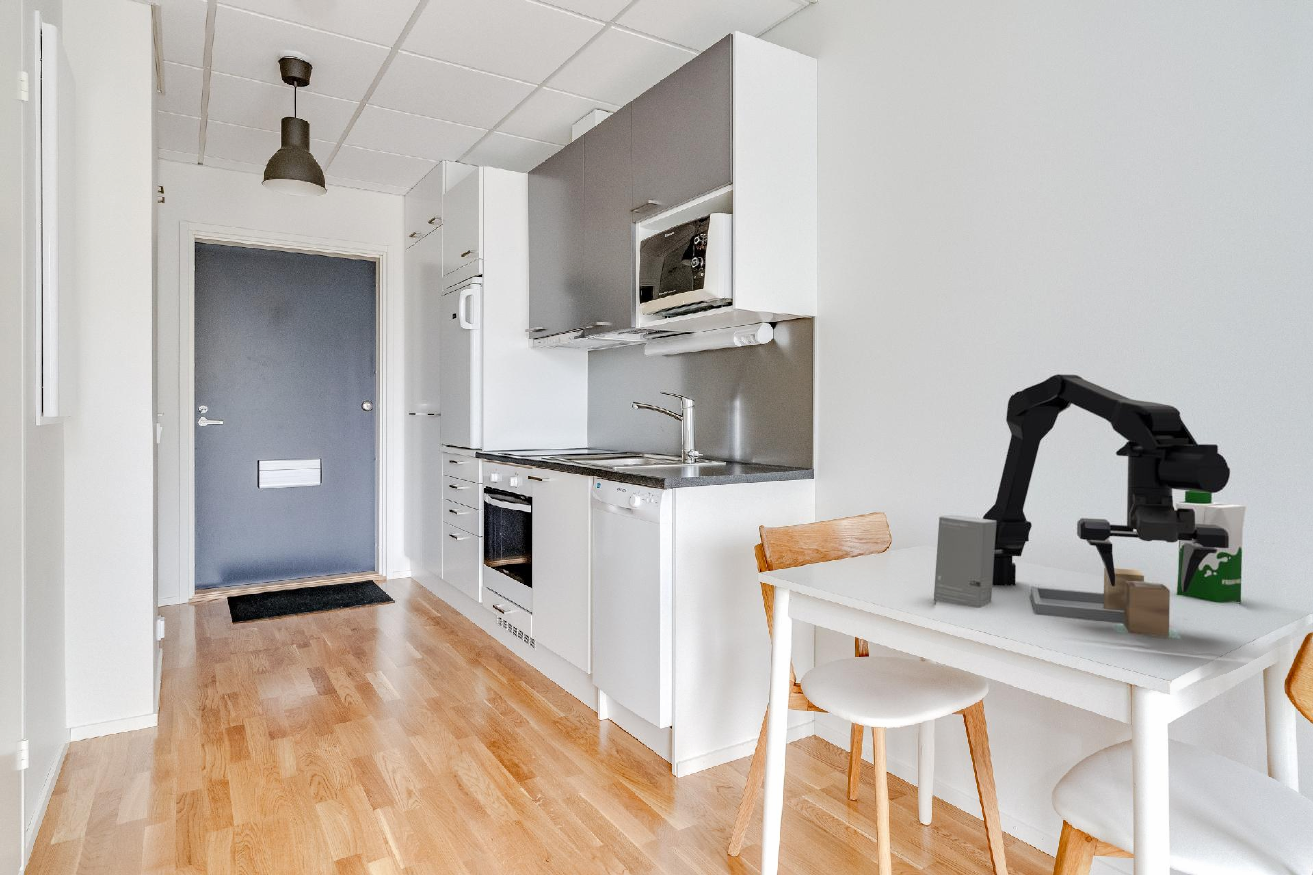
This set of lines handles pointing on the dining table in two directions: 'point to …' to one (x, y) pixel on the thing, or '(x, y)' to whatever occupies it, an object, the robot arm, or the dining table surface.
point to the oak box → (1118, 587)
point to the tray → (1073, 604)
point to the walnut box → (1146, 608)
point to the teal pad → (1123, 630)
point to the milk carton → (1223, 568)
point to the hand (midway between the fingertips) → (1147, 588)
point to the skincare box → (965, 560)
